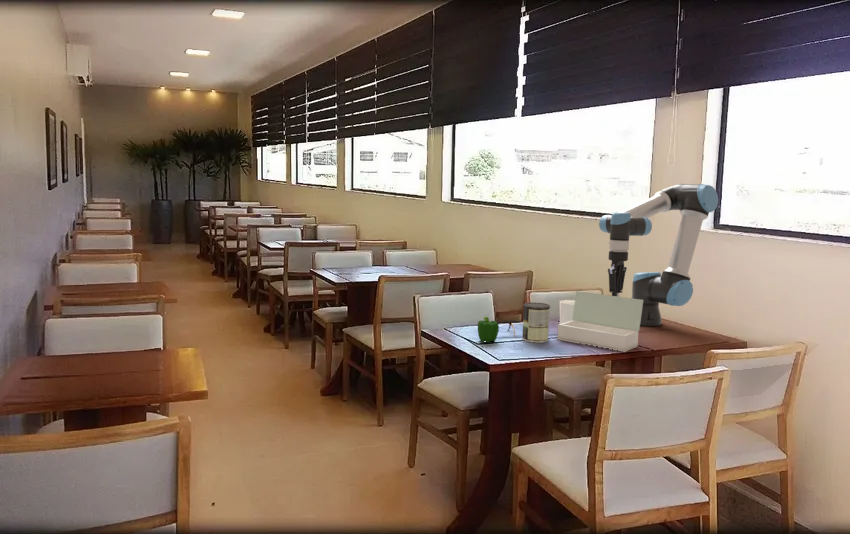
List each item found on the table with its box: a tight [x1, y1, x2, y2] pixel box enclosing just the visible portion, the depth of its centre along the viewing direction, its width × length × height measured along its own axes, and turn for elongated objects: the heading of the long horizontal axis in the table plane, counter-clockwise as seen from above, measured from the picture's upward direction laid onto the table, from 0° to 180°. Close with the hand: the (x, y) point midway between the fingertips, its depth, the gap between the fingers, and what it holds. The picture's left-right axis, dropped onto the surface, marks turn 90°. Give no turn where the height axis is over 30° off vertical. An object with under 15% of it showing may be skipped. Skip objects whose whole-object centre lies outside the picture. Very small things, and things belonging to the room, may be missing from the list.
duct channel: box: [556, 320, 639, 353], centre depth 267 cm, size 12×28×6 cm, turn 50°
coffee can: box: [522, 302, 551, 344], centre depth 269 cm, size 10×10×14 cm
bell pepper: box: [477, 316, 500, 343], centre depth 265 cm, size 8×8×10 cm
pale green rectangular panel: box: [572, 290, 643, 332], centre depth 272 cm, size 12×28×1 cm
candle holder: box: [559, 299, 581, 324], centre depth 290 cm, size 10×10×12 cm
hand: (614, 308), depth 278 cm, fingers closed
